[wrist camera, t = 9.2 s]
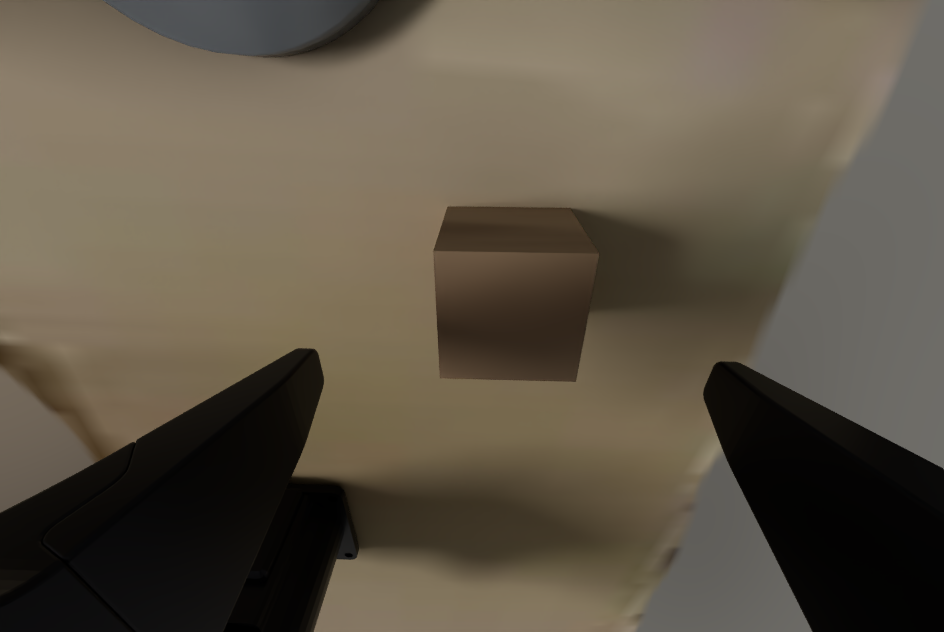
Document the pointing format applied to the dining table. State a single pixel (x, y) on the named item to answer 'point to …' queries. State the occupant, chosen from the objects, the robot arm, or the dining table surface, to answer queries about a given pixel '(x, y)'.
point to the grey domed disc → (248, 23)
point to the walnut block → (512, 293)
